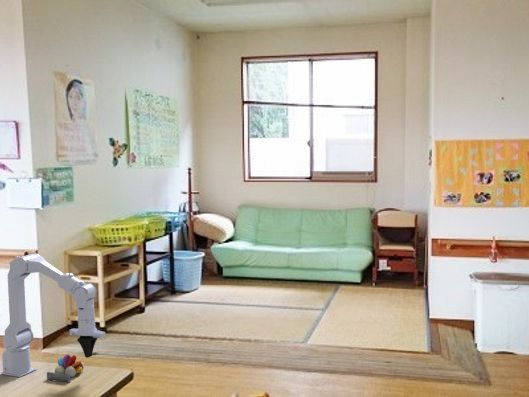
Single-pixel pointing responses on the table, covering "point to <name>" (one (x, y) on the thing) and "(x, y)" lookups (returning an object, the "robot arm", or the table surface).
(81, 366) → the rainbow disc baby rattle
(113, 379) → the table surface
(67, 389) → the table surface
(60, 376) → the rail
